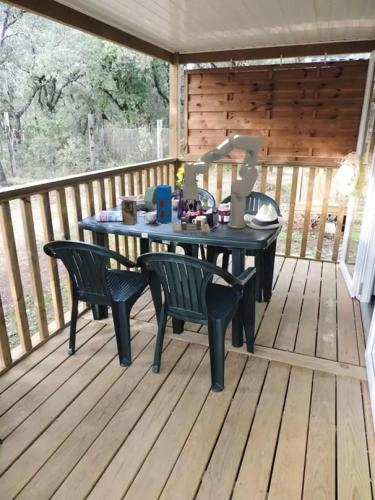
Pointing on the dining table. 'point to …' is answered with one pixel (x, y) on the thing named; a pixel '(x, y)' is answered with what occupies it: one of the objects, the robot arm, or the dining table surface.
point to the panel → (190, 228)
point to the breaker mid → (198, 223)
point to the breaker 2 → (184, 225)
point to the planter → (150, 198)
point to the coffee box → (129, 212)
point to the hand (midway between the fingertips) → (191, 209)
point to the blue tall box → (164, 203)
